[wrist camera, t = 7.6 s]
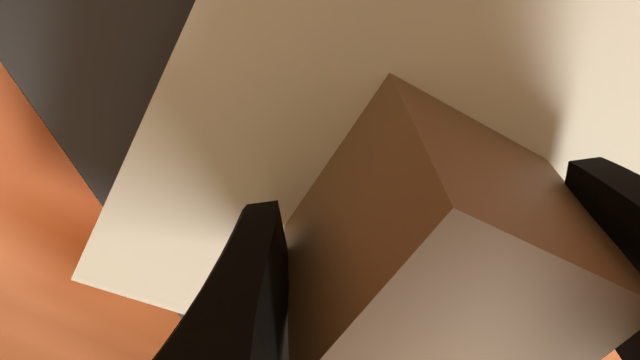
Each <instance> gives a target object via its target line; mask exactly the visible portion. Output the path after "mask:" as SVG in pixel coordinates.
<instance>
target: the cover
mask: <svg viewBox="0 0 640 360" xmlns="http://www.w3.org/2000/svg"><path fill="white" fill-rule="evenodd" d="M595 157H602V158H604V159H607V160H609V161H612V162H614V163H616V164H618V165H620V166H623V167H625V168H627V169H629V170H631V171H633V172H635V173H637V174H639V175H640V0H195V3H194V5H193V7H192V9H191V12H190V14H189V16H188V18H187V21H186V23H185V25H184V27H183V29H182V32H181V34H180V36H179V38H178V41H177V43H176V45H175V47H174V50H173V52H172V54H171V56H170V58H169V61H168V63H167V65H166V67H165V70H164V72H163V74H162V76H161V79H160V81H159V83H158V85H157V88H156V90H155V92H154V94H153V96H152V99H151V101H150V103H149V105H148V108H147V110H146V112H145V114H144V117H143V119H142V121H141V123H140V126H139V128H138V130H137V132H136V134H135V137H134V139H133V141H132V143H131V146H130V148H129V150H128V152H127V155H126V157H125V159H124V161H123V164H122V166H121V168H120V170H119V172H118V175H117V177H116V179H115V181H114V184H113V186H112V188H111V190H110V193H109V195H108V197H107V199H106V202H105V204H104V206H103V208H102V210H101V213H100V215H99V217H98V219H97V222H96V224H95V226H94V228H93V231H92V233H91V235H90V237H89V240H88V242H87V244H86V246H85V248H84V251H83V253H82V255H81V257H80V260H79V262H78V264H77V267H76V269H75V271H74V274H73V276H72V278H71V280H73V281H76V282H79V283H82V284H86V285H89V286H92V287H95V288H99V289H102V290H105V291H108V292H112V293H115V294H118V295H121V296H125V297H128V298H131V299H135V300H138V301H141V302H144V303H148V304H151V305H154V306H157V307H161V308H164V309H167V310H170V311H174V312H177V313H180V314H183V315H184V314H185V313H186V311H187V310H188V308H189V307H190V305H191V304H192V302H193V300H194V299H195V297H196V296H197V294H198V293H199V291H200V290H201V288H202V286H203V285H204V283H205V281H206V279H207V278H208V276H209V274H210V272H211V271H212V269H213V267H214V265H215V264H216V262H217V260H218V258H219V256H220V255H221V253H222V251H223V249H224V247H225V245H226V243H227V241H228V239H229V237H230V235H231V233H232V231H233V229H234V227H235V225H236V223H237V220H238V218H239V216H240V214H241V211H242V209H243V208H244V207H245V206H246V205H247V204H253V203H261V202H268V201H275V200H278V203H279V208H280V213H281V218H282V223H283V228H284V233H285V238H286V243H287V248H288V275H289V292H288V309H287V321H288V350H289V360H601V359H602V358H604V357H605V356H606V355H608V354H609V353H610V352H612V351H613V350H614V349H616V348H617V347H618V346H619V345H621V344H622V343H623V342H625V341H626V340H627V339H629V338H630V337H631V336H632V335H634V334H635V333H636V332H638V331H639V330H640V273H639V272H638V271H637V270H636V268H635V267H634V266H633V265H632V264H631V262H630V261H629V260H628V259H627V257H626V256H625V255H624V254H623V252H622V251H621V250H620V249H619V248H618V247H617V245H616V244H615V243H614V242H613V241H612V240H611V238H610V237H609V236H608V235H607V234H606V233H605V232H604V230H603V229H602V228H601V227H600V226H599V225H598V224H597V222H596V221H595V220H594V219H593V218H592V217H591V215H590V214H589V213H588V212H587V210H586V209H585V208H584V207H583V205H582V204H581V203H580V202H579V200H578V199H577V198H576V197H575V195H574V194H573V193H572V192H571V191H570V189H569V188H568V187H567V186H566V184H565V178H566V172H567V167H568V162H569V161H573V160H581V159H588V158H595Z"/></svg>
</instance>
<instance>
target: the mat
mask: <svg viewBox="0 0 640 360" xmlns="http://www.w3.org/2000/svg"><path fill="white" fill-rule="evenodd" d="M194 3H195V0H0V61H1V63H2V64H3V66H4V67H5V68H6V70H7V71H8V73H9V74H10V75H11V77H12V78H13V80H14V81H15V83H16V84H17V85H18V87H19V88H20V90H21V91H22V92H23V94H24V95H25V97H26V98H27V100H28V101H29V102H30V104H31V105H32V107H33V108H34V110H35V111H36V112H37V114H38V115H39V117H40V118H41V119H42V121H43V122H44V124H45V125H46V127H47V128H48V129H49V131H50V132H51V134H52V135H53V136H54V138H55V139H56V141H57V142H58V144H59V145H60V146H61V148H62V149H63V151H64V152H65V154H66V155H67V156H68V158H69V159H70V161H71V162H72V163H73V165H74V166H75V168H76V169H77V171H78V172H79V173H80V175H81V176H82V178H83V179H84V181H85V182H86V183H87V185H88V186H89V188H90V189H91V190H92V192H93V193H94V195H95V196H96V198H97V199H98V200H99V202H100V203H101V205H102V206H104V204H105V202H106V199H107V197H108V195H109V193H110V190H111V188H112V186H113V184H114V181H115V179H116V177H117V175H118V172H119V170H120V168H121V166H122V164H123V161H124V159H125V157H126V155H127V152H128V150H129V148H130V146H131V143H132V141H133V139H134V137H135V134H136V132H137V130H138V128H139V126H140V123H141V121H142V119H143V117H144V114H145V112H146V110H147V108H148V105H149V103H150V101H151V99H152V96H153V94H154V92H155V90H156V88H157V85H158V83H159V81H160V79H161V76H162V74H163V72H164V70H165V67H166V65H167V63H168V61H169V58H170V56H171V54H172V52H173V50H174V47H175V45H176V43H177V41H178V38H179V36H180V34H181V32H182V29H183V27H184V25H185V23H186V21H187V18H188V16H189V14H190V12H191V9H192V7H193V5H194ZM178 314H179V315H180V317H181V318H183V316H184V315H183V314H180V313H178Z"/></svg>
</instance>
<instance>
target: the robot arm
mask: <svg viewBox="0 0 640 360" xmlns="http://www.w3.org/2000/svg"><path fill="white" fill-rule="evenodd" d="M565 184H566V186H567V187H568V188H569V189H570V191H571V192H572V193H573V194H574V195H575V197H576V198H577V199H578V200H579V202H580V203H581V204H582V205H583V207H584V208H585V209H586V210H587V212H588V213H589V214H590V215H591V217H592V218H593V219H594V220H595V221H596V222H597V224H598V225H599V226H600V227H601V228H602V229H603V230H604V232H605V233H606V234H607V235H608V236H609V237H610V238H611V240H612V241H613V242H614V243H615V244H616V245H617V247H618V248H619V249H620V250H621V251H622V252H623V254H624V255H625V256H626V257H627V259H628V260H629V261H630V262H631V264H632V265H633V266H634V267H635V268H636V270H637V271H638V272H639V273H640V175H639V174H637V173H635V172H633V171H631V170H629V169H627V168H625V167H623V166H620V165H618V164H616V163H614V162H612V161H609V160H607V159H604V158H602V157H595V158H588V159H581V160H573V161H569V162H568V167H567V172H566V178H565ZM288 292H289V275H288V248H287V243H286V238H285V233H284V228H283V223H282V218H281V213H280V208H279V203H278V200H275V201H268V202H261V203H253V204H247V205H246V206H245V207H244V208H243V209H242V211H241V214H240V216H239V218H238V220H237V223H236V225H235V227H234V229H233V231H232V233H231V235H230V237H229V239H228V241H227V243H226V245H225V247H224V249H223V251H222V253H221V255H220V256H219V258H218V260H217V262H216V264H215V265H214V267H213V269H212V271H211V272H210V274H209V276H208V278H207V279H206V281H205V283H204V285H203V286H202V288H201V290H200V291H199V293H198V294H197V296H196V297H195V299H194V300H193V302H192V304H191V305H190V307H189V308H188V310H187V311H186V313H185V314H184V316H183V318H182V319H181V321H180V322H179V324H178V325H177V327H176V328H175V329H174V331H173V332H172V334H171V335H170V336H169V338H168V339H167V341H166V342H165V343H164V345H163V346H162V347H161V349H160V350H159V351H158V353H157V354H156V355H155V357H154V358H153V359H152V360H289V350H288V321H287V309H288ZM615 350H616V351H617V353H618V355H619V356H620V358H621V359H622V360H640V330H639V331H638V332H636V333H635V334H634V335H632V336H631V337H630V338H629V339H627V340H626V341H625V342H623V343H622V344H621V345H619V346H618V347H617V348H616V349H615Z"/></svg>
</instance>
